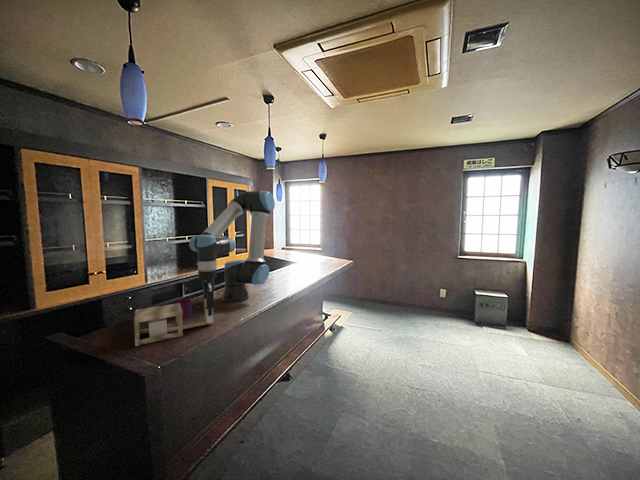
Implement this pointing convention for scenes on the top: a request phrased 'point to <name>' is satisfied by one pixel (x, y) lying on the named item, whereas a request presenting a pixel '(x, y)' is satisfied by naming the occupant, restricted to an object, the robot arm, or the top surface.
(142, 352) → the top surface
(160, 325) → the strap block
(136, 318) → the wooden holder
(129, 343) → the top surface
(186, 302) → the mug
